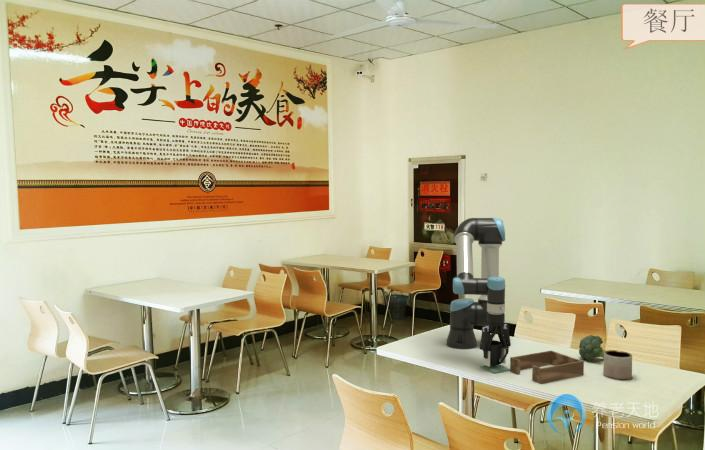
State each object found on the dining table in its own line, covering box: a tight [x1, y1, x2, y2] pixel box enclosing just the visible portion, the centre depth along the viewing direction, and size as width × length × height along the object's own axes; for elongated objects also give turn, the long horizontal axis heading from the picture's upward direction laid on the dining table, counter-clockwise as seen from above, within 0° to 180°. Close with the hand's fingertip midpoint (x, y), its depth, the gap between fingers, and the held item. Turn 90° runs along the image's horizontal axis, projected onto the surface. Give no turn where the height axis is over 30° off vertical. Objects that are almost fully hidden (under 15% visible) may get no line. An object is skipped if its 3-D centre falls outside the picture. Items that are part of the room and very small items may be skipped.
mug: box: [482, 339, 510, 366], centre depth 240 cm, size 8×12×10 cm
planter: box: [602, 349, 633, 381], centre depth 231 cm, size 11×11×10 cm
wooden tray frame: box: [509, 350, 585, 385], centre depth 235 cm, size 18×24×6 cm
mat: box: [479, 364, 511, 374], centre depth 240 cm, size 9×9×1 cm
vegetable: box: [578, 334, 607, 362], centre depth 254 cm, size 12×13×15 cm
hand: (495, 364), depth 240 cm, fingers closed on mug, 8 cm apart
